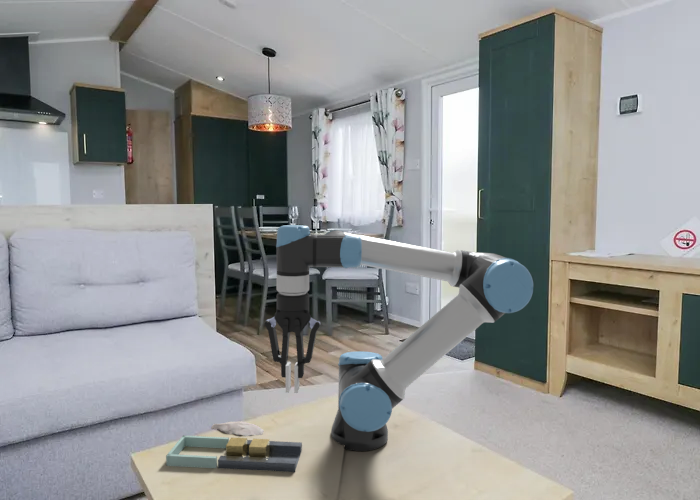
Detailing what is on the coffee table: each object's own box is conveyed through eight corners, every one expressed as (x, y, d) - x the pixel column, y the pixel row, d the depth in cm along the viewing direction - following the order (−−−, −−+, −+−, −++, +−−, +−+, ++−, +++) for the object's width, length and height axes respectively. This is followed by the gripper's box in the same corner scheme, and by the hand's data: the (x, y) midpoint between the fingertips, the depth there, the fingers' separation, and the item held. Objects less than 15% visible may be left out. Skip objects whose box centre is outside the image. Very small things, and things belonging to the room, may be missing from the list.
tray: (228, 450, 127) (228, 437, 126) (215, 472, 117) (215, 458, 116) (183, 448, 127) (182, 435, 127) (166, 469, 117) (166, 455, 117)
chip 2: (269, 454, 123) (269, 439, 122) (265, 463, 119) (265, 447, 118) (253, 454, 123) (253, 438, 123) (249, 462, 119) (248, 446, 119)
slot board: (301, 453, 125) (301, 442, 125) (294, 476, 116) (294, 463, 115) (230, 450, 127) (230, 439, 126) (218, 472, 117) (217, 459, 116)
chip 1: (247, 453, 123) (247, 438, 123) (242, 462, 119) (242, 446, 119) (231, 453, 123) (231, 437, 123) (226, 461, 119) (226, 445, 119)
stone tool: (205, 437, 133) (260, 445, 132) (205, 427, 133) (260, 434, 131) (216, 422, 141) (268, 429, 140) (217, 412, 141) (269, 419, 139)
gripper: (325, 290, 119) (324, 385, 122) (265, 288, 120) (266, 383, 123) (322, 296, 112) (320, 398, 114) (258, 294, 113) (258, 395, 115)
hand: (292, 390), depth 119 cm, fingers closed
